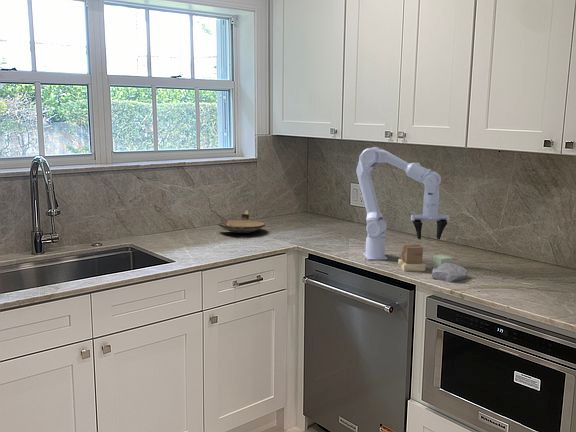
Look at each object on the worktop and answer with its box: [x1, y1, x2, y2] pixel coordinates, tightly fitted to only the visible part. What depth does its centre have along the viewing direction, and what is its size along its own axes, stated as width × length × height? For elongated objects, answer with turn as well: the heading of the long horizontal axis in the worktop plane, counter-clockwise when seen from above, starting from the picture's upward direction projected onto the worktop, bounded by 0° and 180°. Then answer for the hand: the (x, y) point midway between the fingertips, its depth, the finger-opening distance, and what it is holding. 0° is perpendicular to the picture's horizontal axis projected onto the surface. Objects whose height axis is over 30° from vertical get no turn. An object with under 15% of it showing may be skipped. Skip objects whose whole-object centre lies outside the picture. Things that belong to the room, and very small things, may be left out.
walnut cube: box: [400, 243, 424, 264], centre depth 212 cm, size 6×6×6 cm
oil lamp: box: [217, 209, 266, 234], centre depth 273 cm, size 22×30×8 cm
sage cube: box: [432, 254, 453, 270], centre depth 212 cm, size 5×5×5 cm
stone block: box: [431, 262, 468, 283], centre depth 202 cm, size 12×5×10 cm
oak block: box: [397, 258, 426, 272], centre depth 213 cm, size 8×8×3 cm
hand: (428, 238), depth 218 cm, fingers open, 7 cm apart
